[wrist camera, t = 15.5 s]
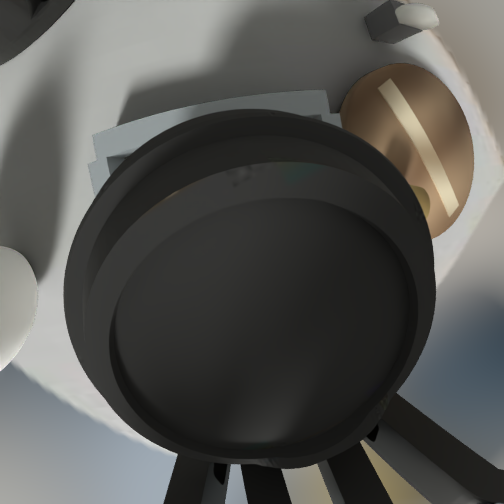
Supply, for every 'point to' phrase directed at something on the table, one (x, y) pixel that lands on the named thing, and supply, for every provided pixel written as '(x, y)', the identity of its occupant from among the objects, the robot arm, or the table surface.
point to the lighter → (400, 21)
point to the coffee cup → (251, 288)
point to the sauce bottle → (15, 302)
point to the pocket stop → (142, 130)
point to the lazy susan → (416, 136)
